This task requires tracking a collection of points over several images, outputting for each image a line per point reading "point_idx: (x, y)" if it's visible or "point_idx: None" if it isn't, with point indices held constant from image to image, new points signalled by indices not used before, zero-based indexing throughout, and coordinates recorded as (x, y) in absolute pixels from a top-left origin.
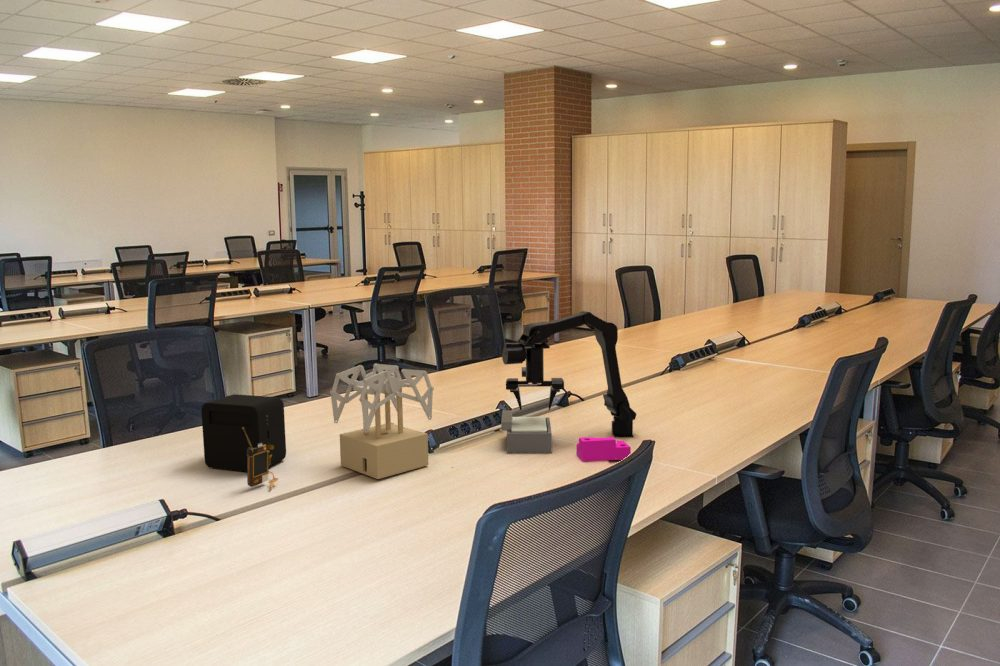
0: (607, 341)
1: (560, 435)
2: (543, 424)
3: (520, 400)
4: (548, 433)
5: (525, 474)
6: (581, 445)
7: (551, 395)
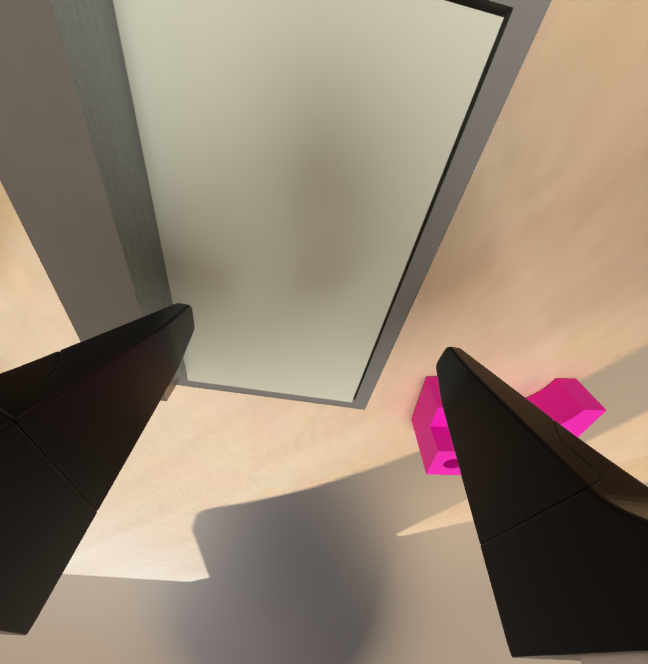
0: None
1: (551, 35)
2: (369, 312)
3: (137, 440)
4: (352, 407)
5: (261, 453)
6: (424, 452)
7: (495, 556)
